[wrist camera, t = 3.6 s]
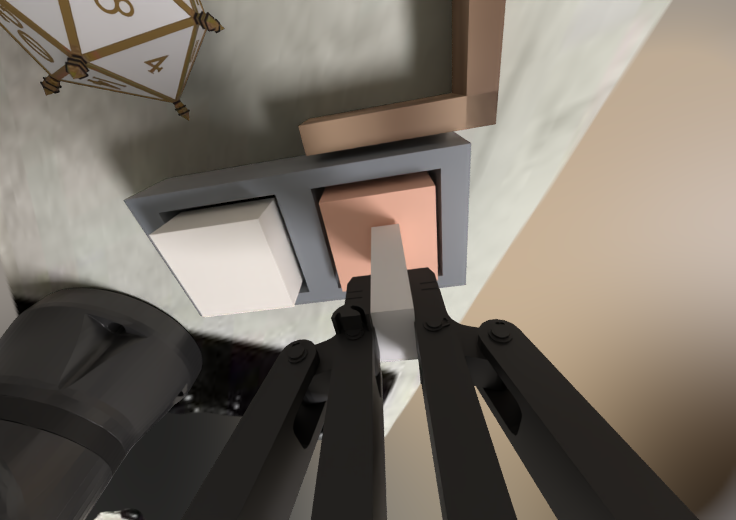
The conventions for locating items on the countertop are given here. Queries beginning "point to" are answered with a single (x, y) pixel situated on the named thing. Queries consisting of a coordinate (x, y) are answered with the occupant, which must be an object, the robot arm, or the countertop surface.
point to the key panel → (303, 193)
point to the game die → (112, 43)
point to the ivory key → (232, 257)
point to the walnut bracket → (437, 113)
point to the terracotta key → (380, 221)
